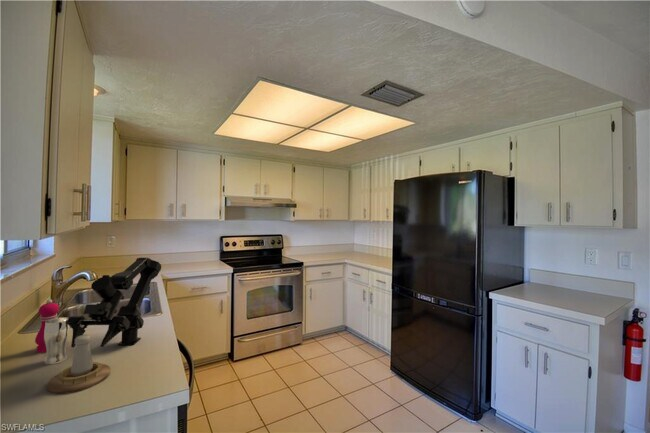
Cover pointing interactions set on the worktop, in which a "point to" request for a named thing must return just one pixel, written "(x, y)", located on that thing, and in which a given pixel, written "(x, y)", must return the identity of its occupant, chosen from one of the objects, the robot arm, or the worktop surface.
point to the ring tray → (77, 386)
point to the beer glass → (56, 339)
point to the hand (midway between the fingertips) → (87, 346)
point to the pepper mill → (46, 313)
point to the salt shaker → (82, 356)
